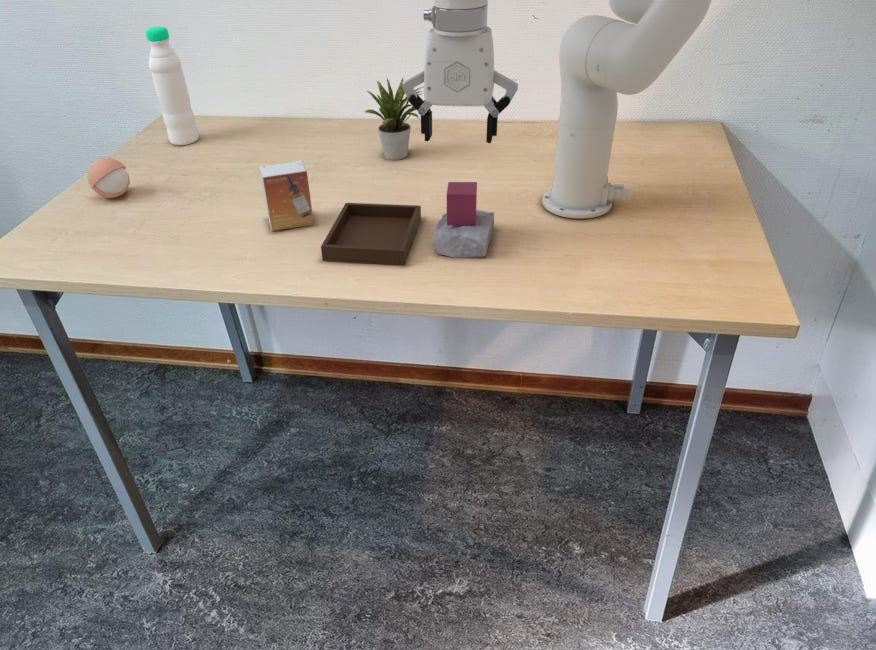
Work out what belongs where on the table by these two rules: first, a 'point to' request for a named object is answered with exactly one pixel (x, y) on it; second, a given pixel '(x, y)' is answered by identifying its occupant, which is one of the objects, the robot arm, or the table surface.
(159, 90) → the water bottle
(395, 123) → the house plant
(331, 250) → the tray
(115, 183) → the toy ball
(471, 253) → the stone block
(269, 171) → the small box
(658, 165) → the table surface
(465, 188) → the pink block
